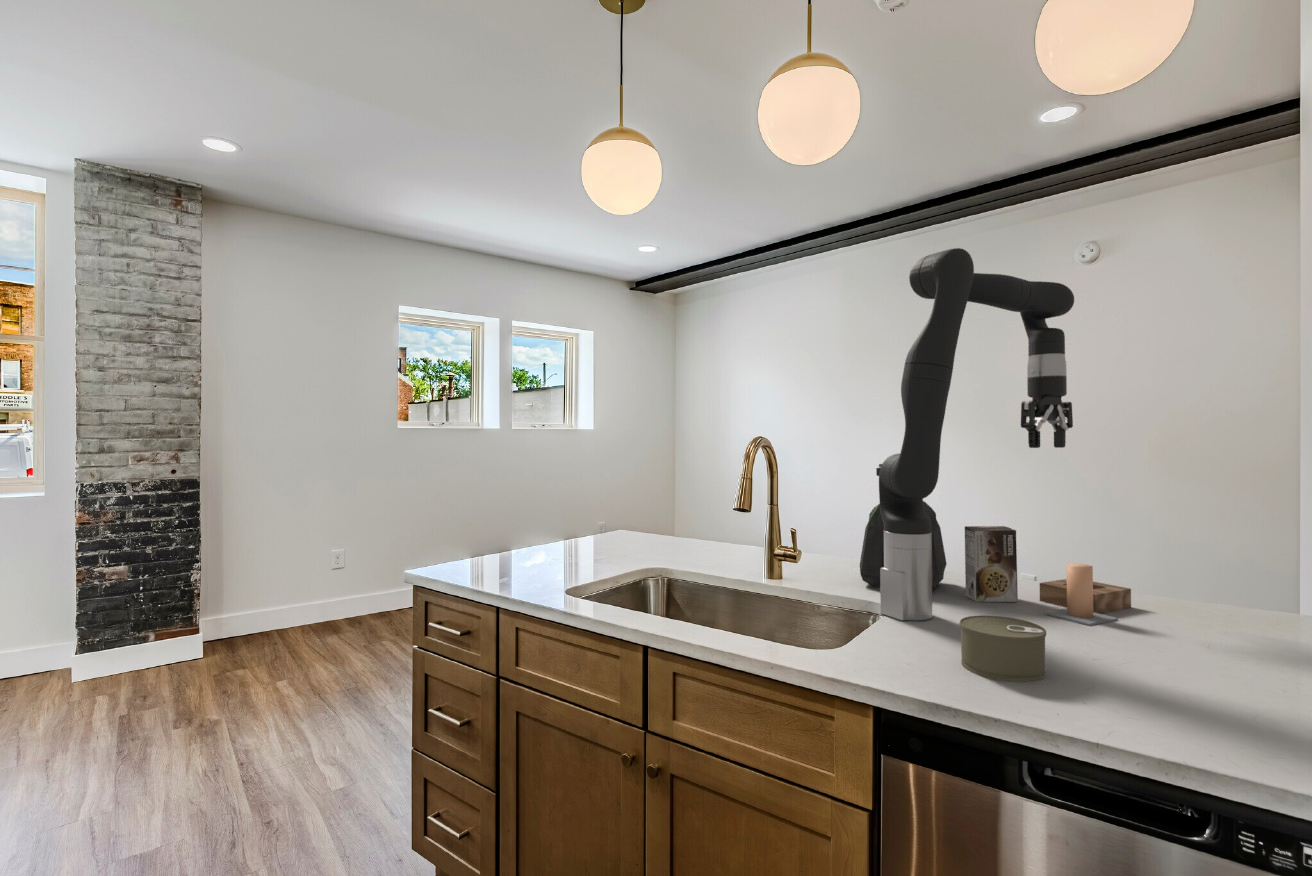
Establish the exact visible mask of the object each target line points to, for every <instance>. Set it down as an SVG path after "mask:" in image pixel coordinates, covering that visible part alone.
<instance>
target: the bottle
mask: <svg viewBox="0 0 1312 876" xmlns="http://www.w3.org/2000/svg"><path fill="white" fill-rule="evenodd" d="M882 464H883V463H879V464H878V467H876V468H875V469H876V472H875V473H876V477H879V472H880V468H881V466H882ZM923 506H924V509H925V512H926V513H927V515H928V516H929V518H930V519H931V522H932V590H934V589H935V588H936V587H937V586H938V585H939V584H940V583H941V582H942V581H943V579H944V577H945V576H944V575H945V570H946V568H947V565H948V564H947V559H946V552H945V547H944V543H943V542H944V541H943V536H942V531H941V527H940V524H939V522H938V520H937V513H936V512H935V510H934V509H933V508H932V507H931V506H930V505H929V504H928V503H927V502H926V501H924V500H923ZM859 561H860V562H859V573H860V577H861V578H862V581H863V582H865V583H867V584H868V585H869V586H870V587H873V588H874V587H875V588H880V569H881V568H882V567H884V523H883V519H882V517H881V513H880V503H879V504H877V505H876V506H874V507H873V508H872V510H871V511H870V512H869V515H868V522H867V524H866V526H865V529H864V537H863V541H862V548H861V554H860V560H859Z"/></svg>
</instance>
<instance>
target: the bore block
mask: <svg viewBox="0 0 1312 876" xmlns="http://www.w3.org/2000/svg"><path fill="white" fill-rule="evenodd" d="M1039 601H1040V602H1042V601H1044V602H1043V603H1047V604H1051V603H1052V605H1055V606H1059V605H1060V606H1061V607H1064V608H1067V578H1063V579H1057V580H1051V581H1043V582H1039ZM1130 608H1132V589H1131V588H1130V587H1129V588H1128V587H1125V586H1124V587H1123V586H1118V585H1114V584H1110V583H1109V584H1108V583H1102V582H1098V581H1093V612H1094V613H1098V614H1104V613H1109V612H1115V611H1120V610H1126V609H1130Z"/></svg>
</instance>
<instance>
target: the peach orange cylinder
mask: <svg viewBox="0 0 1312 876" xmlns="http://www.w3.org/2000/svg"><path fill="white" fill-rule="evenodd" d="M1093 569H1094V568H1093V565H1089V564H1084V563H1066V579H1067V607H1066V608H1067V614H1068V615H1070V616H1074V617H1079V618H1092V617H1093V582H1094V578H1093V575H1094V574H1093V573H1094V572H1093V571H1094V570H1093Z"/></svg>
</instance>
